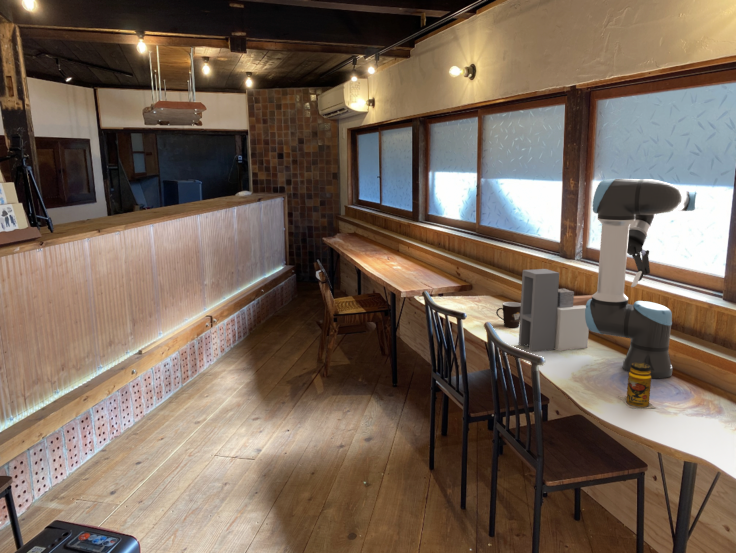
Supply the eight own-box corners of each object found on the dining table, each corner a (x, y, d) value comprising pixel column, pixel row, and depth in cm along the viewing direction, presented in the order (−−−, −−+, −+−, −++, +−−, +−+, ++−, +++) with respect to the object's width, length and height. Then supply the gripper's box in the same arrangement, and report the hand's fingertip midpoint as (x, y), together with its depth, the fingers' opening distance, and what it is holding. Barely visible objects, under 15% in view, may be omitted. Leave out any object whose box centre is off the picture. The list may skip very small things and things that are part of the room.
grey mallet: (603, 304, 214) (604, 289, 213) (559, 307, 208) (560, 292, 207) (593, 301, 220) (594, 286, 218) (550, 304, 214) (551, 289, 213)
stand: (554, 349, 209) (559, 272, 204) (531, 351, 207) (535, 274, 201) (540, 342, 218) (545, 268, 212) (518, 344, 215) (522, 270, 210)
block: (587, 347, 212) (590, 307, 209) (558, 350, 208) (561, 309, 205) (568, 338, 223) (570, 300, 220) (540, 341, 220) (542, 302, 217)
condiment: (630, 408, 157) (634, 369, 155) (617, 396, 165) (621, 359, 163) (656, 408, 157) (660, 369, 155) (641, 396, 165) (645, 359, 163)
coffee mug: (519, 323, 246) (520, 302, 244) (523, 329, 237) (524, 306, 235) (493, 323, 247) (494, 301, 245) (495, 328, 238) (496, 306, 237)
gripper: (659, 252, 221) (641, 295, 215) (604, 222, 223) (584, 264, 217) (670, 246, 214) (652, 290, 208) (613, 215, 216) (593, 258, 209)
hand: (617, 277), depth 212 cm, fingers open, 13 cm apart
